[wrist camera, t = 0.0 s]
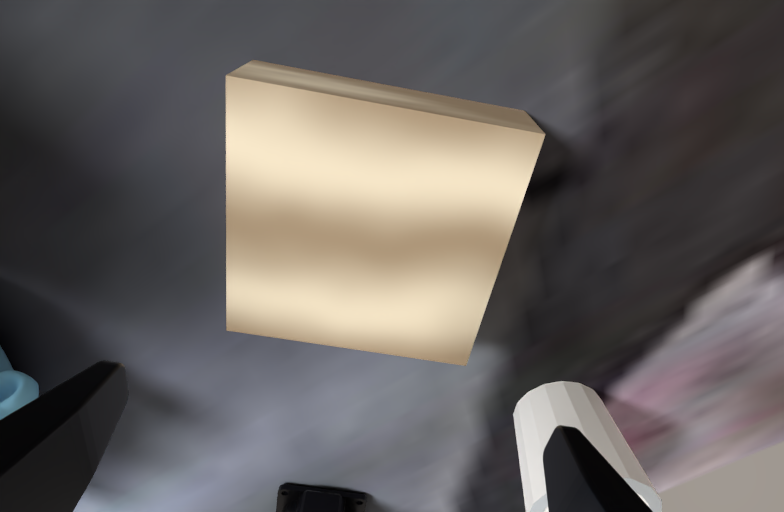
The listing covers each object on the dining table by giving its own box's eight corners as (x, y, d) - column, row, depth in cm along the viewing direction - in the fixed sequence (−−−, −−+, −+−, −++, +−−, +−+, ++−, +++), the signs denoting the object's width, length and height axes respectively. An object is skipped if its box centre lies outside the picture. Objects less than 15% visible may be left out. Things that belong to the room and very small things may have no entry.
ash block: (458, 316, 28) (466, 365, 24) (249, 284, 27) (226, 330, 23) (522, 108, 22) (545, 134, 18) (255, 58, 21) (225, 75, 17)
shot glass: (621, 371, 29) (678, 476, 23) (604, 446, 32) (649, 554, 26) (506, 375, 29) (532, 479, 23) (501, 449, 33) (523, 556, 27)
